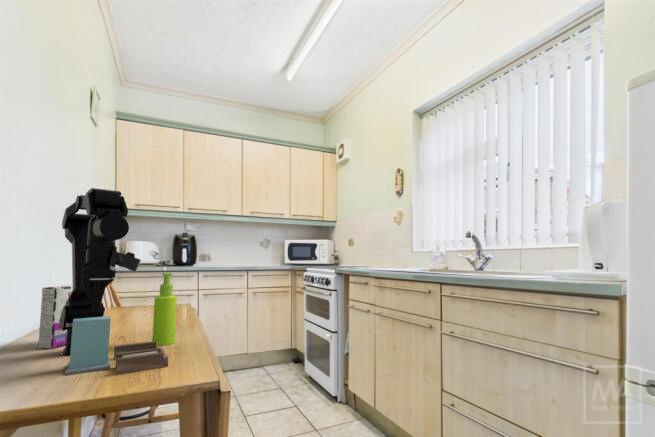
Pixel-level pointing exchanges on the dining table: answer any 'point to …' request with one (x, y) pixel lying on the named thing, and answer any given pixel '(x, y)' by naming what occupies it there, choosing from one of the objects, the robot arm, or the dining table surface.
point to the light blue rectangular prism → (90, 342)
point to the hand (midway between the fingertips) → (96, 307)
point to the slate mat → (87, 368)
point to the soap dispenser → (165, 314)
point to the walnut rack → (139, 357)
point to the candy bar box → (53, 316)
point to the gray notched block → (139, 354)
